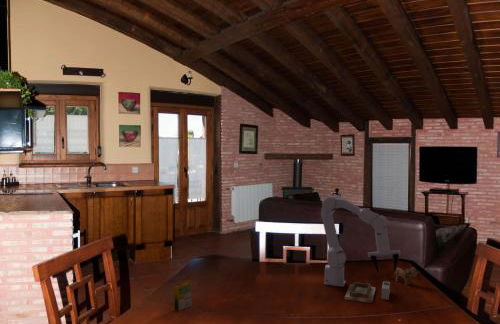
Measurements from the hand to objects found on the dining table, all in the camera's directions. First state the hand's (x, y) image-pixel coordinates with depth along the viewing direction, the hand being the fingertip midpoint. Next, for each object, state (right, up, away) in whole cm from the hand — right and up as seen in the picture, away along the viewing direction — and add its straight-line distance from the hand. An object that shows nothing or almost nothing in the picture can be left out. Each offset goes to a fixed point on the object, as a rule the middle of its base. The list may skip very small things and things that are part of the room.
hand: (386, 271), depth 196 cm
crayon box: (-92, -12, -15) cm, 94 cm away
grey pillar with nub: (0, -11, 0) cm, 11 cm away
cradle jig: (-12, -11, +1) cm, 16 cm away
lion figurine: (+15, -10, +18) cm, 25 cm away
